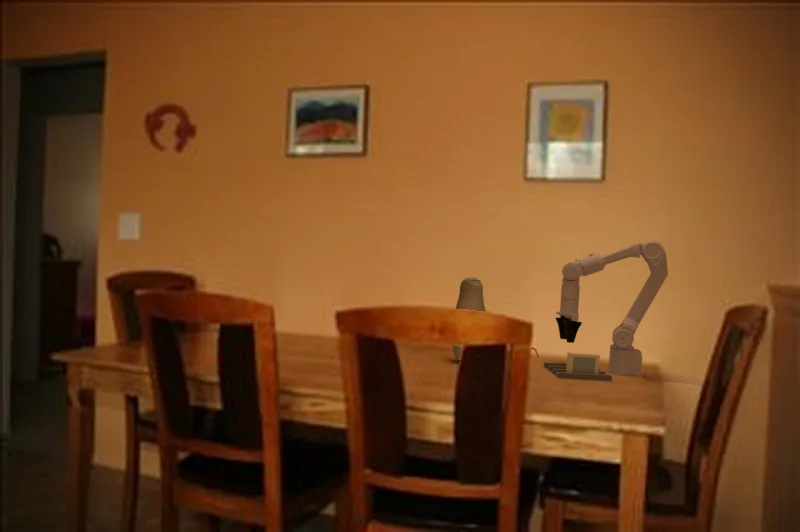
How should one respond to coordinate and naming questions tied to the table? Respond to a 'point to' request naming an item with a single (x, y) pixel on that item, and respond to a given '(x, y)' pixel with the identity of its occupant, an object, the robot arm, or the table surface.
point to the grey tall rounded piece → (469, 301)
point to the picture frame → (582, 363)
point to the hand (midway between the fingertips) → (566, 340)
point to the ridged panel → (561, 373)
